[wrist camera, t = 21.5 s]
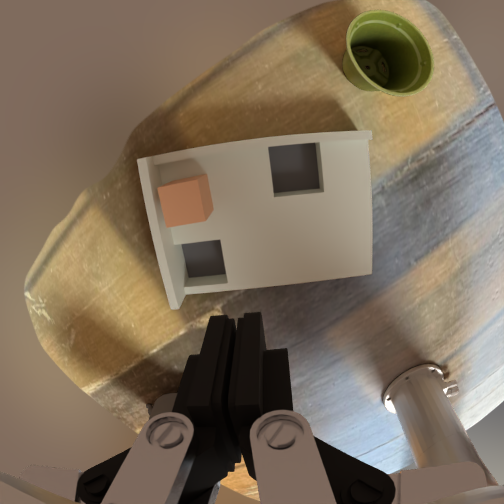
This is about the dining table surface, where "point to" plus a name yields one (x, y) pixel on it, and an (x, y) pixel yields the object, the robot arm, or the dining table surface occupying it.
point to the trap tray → (266, 213)
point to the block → (186, 201)
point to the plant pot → (387, 54)
